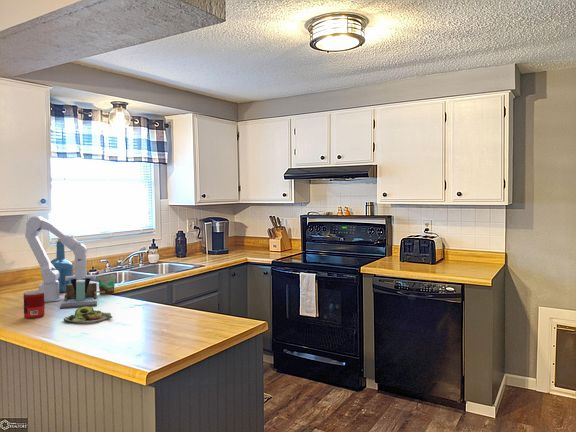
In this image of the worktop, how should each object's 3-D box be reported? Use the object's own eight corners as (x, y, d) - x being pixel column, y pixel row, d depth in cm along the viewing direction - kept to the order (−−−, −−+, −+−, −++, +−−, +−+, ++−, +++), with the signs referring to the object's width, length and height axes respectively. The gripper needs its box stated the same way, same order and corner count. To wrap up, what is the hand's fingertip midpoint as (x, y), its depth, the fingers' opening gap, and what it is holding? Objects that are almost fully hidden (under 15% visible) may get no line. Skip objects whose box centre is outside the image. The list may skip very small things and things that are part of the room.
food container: (108, 295, 249) (107, 277, 249) (97, 294, 251) (97, 276, 250) (120, 291, 262) (120, 273, 261) (110, 290, 263) (110, 273, 263)
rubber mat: (60, 308, 216) (60, 306, 216) (61, 305, 224) (61, 303, 224) (96, 306, 222) (96, 304, 222) (97, 302, 230) (96, 300, 230)
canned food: (48, 315, 204) (48, 290, 203) (33, 319, 196) (32, 294, 196) (35, 314, 206) (35, 289, 206) (19, 318, 198) (19, 293, 198)
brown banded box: (64, 301, 234) (64, 287, 234) (66, 297, 243) (65, 284, 243) (96, 298, 240) (96, 285, 240) (96, 295, 248) (96, 282, 248)
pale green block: (76, 300, 235) (76, 283, 235) (77, 297, 243) (77, 280, 243) (84, 300, 237) (84, 282, 237) (85, 297, 244) (85, 280, 244)
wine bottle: (78, 289, 268) (78, 238, 267) (63, 293, 255) (63, 239, 254) (57, 288, 270) (57, 237, 269) (41, 292, 257) (41, 239, 256)
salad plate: (124, 316, 202) (124, 306, 202) (96, 327, 185) (96, 315, 185) (88, 313, 208) (88, 303, 208) (57, 323, 191) (57, 312, 191)
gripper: (95, 265, 246) (96, 291, 246) (65, 267, 241) (66, 293, 241) (95, 267, 239) (95, 293, 240) (64, 268, 234) (65, 295, 234)
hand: (80, 293), depth 240 cm, fingers closed on pale green block, 4 cm apart
